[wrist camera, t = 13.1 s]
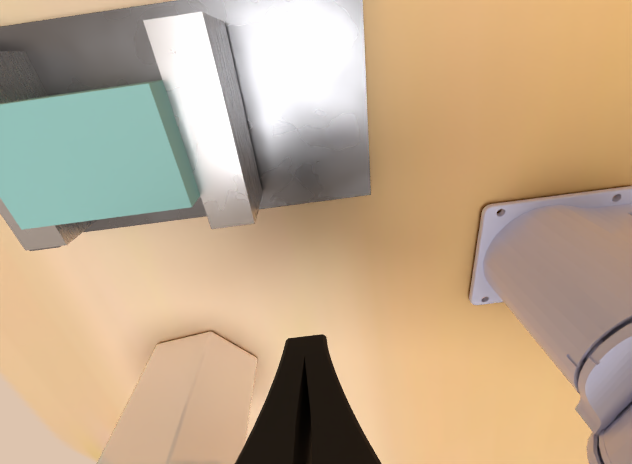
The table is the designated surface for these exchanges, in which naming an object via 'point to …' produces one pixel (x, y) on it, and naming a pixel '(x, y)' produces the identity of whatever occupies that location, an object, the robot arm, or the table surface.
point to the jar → (187, 405)
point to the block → (93, 156)
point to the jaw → (208, 114)
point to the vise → (254, 83)
